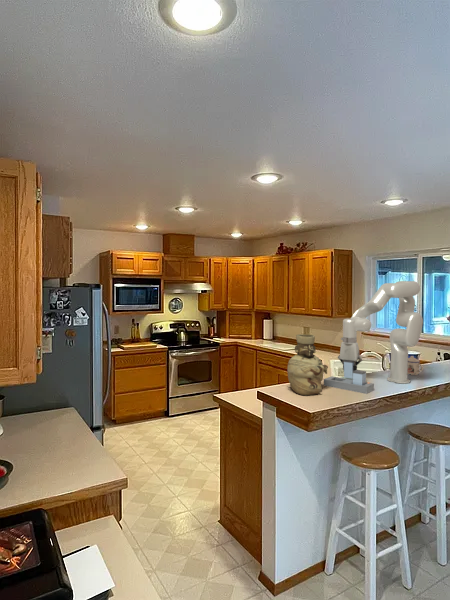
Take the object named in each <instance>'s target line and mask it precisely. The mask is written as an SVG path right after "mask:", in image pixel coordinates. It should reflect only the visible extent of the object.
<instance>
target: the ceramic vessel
mask: <svg viewBox="0 0 450 600" xmlns="http://www.w3.org/2000/svg"><path fill="white" fill-rule="evenodd" d="M295 338H296V343H297V344H296V345H294V352H295V353H296V354H294V355H293V356H292V357H291V358H290V359H289V360H288V363H287V371H286V372H287V378H288V382H289V386H290V388H291V389H292V391H293V392H294V393H296V394H297V395H300V396H316V395H317V396H319V395H321V394H322V392H323V388H322V382H323V381H324V374H325V375H328V368H329V365H328V364H323V362H322V360H321V359H320V358H319V357H318V356H316V354H315V353H316V346H315V345H314V344H315V339H316V335H314V334H304V333H303V334H296V335H295Z"/></svg>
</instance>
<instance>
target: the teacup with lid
mask: <svg viewBox="0 0 450 600" xmlns="http://www.w3.org/2000/svg"><path fill="white" fill-rule="evenodd" d="M420 367H421V369H420ZM423 370H424V366H423V364H421V363H420V359H417V358H416V357H414V355H410V356H409V357H408V373H407V375H408V374H411V375H410V376H418V375H417V374H420V373H421V372H422V371H423Z"/></svg>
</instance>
